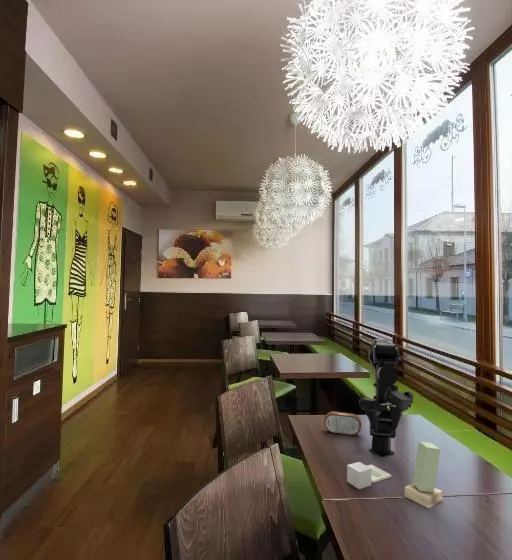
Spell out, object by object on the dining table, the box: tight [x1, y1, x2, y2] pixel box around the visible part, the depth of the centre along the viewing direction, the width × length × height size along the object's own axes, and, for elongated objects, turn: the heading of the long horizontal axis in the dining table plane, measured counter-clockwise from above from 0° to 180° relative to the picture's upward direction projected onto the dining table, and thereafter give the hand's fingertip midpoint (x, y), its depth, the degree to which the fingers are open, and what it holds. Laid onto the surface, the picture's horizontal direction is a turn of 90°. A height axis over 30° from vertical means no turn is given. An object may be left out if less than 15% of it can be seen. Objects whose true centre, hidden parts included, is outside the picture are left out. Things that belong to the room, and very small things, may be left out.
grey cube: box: [346, 461, 372, 490], centre depth 109 cm, size 5×5×5 cm
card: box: [367, 464, 392, 484], centre depth 115 cm, size 8×8×1 cm
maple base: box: [404, 482, 443, 509], centre depth 102 cm, size 7×7×3 cm
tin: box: [323, 411, 362, 436], centre depth 149 cm, size 15×3×8 cm, turn 74°
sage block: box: [412, 441, 441, 493], centre depth 102 cm, size 4×4×12 cm
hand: (385, 430), depth 118 cm, fingers open, 9 cm apart
